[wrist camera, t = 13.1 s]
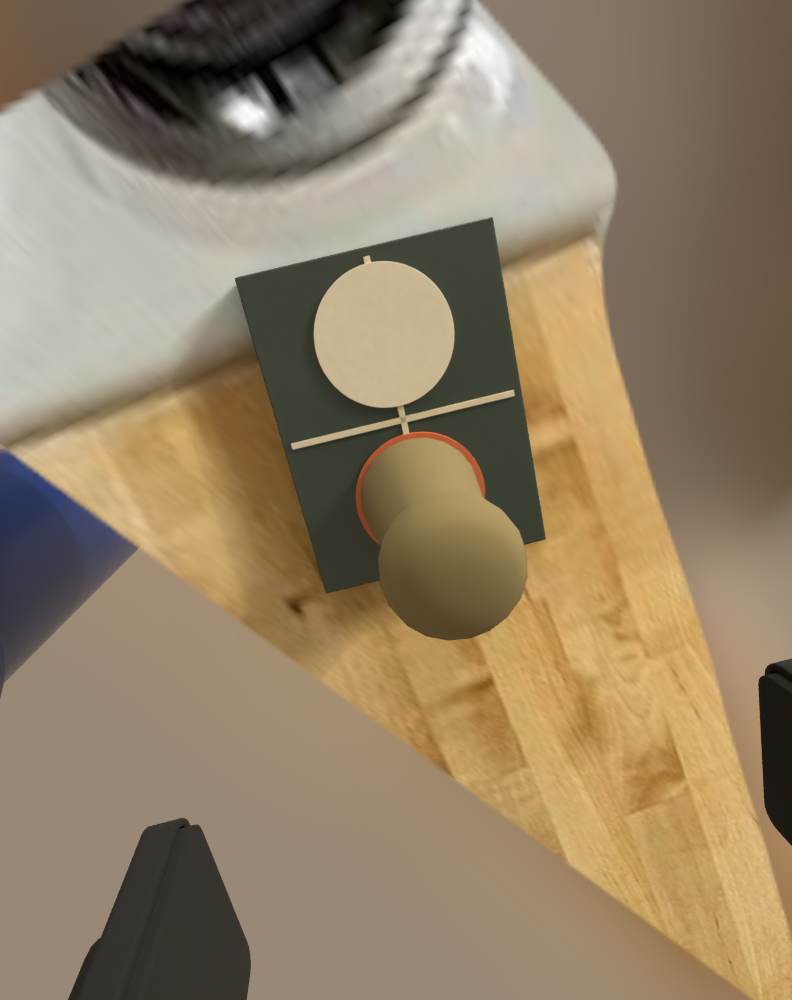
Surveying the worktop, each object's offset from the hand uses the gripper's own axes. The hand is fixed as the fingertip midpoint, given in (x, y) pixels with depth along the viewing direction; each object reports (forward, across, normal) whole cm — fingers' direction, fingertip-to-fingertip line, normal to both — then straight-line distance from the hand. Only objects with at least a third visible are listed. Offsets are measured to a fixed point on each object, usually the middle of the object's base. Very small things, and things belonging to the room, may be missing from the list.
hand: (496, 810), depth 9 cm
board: (+22, -2, -3) cm, 22 cm away
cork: (+21, -2, 0) cm, 21 cm away
